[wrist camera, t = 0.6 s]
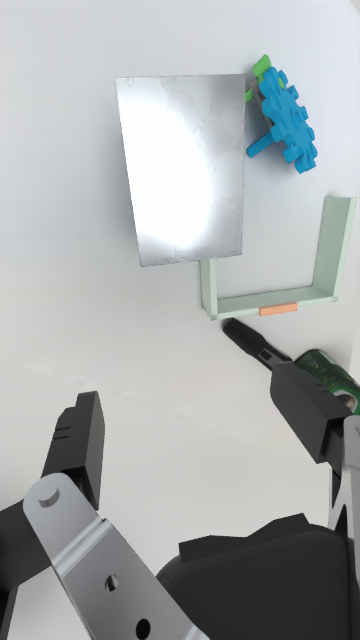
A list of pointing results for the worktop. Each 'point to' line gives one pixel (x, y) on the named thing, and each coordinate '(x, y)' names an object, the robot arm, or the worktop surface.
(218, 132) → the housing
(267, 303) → the bay
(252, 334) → the electric trimmer
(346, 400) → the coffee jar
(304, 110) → the gear
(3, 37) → the worktop surface
